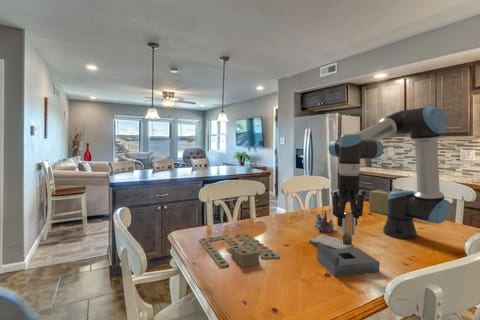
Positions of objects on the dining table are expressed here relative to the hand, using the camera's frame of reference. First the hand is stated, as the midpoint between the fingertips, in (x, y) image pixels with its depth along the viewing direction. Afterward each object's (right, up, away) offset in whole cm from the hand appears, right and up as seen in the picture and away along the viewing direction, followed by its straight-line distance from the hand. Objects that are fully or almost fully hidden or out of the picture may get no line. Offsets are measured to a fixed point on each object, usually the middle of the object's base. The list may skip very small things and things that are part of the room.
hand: (346, 234), depth 103 cm
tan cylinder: (0, -4, 0) cm, 4 cm away
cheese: (+58, -8, +75) cm, 95 cm away
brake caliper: (+5, -10, +44) cm, 46 cm away
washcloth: (+1, -12, +22) cm, 25 cm away
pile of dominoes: (-43, -13, +18) cm, 48 cm away
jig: (0, -13, +1) cm, 13 cm away
